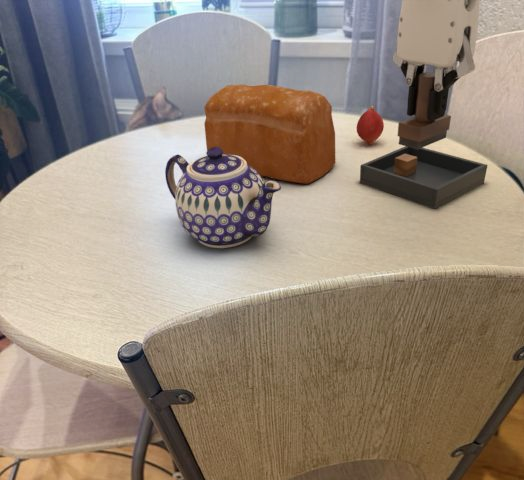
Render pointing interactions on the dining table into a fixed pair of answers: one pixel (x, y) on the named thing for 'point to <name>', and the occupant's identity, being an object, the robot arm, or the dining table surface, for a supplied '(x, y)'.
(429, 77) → the wooden rubber stamp
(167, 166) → the teapot
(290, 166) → the bread
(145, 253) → the dining table surface
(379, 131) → the onion
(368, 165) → the tray
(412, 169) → the brown wooden cube
